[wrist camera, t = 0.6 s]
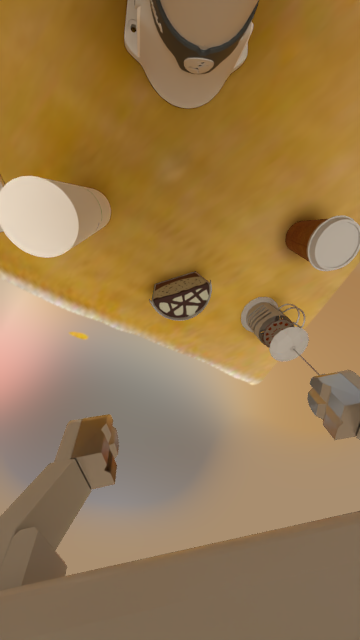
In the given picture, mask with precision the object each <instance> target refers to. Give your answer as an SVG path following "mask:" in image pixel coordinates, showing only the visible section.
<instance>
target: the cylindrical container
mask: <svg viewBox="0 0 360 640" xmlns="http://www.w3.org/2000/svg"><path fill="white" fill-rule="evenodd" d="M110 217H111V208H110V204H109V202H108V200H107V198H106V197H105V196H104V195H103V194H102V193H101V192H99V191H98V190H95V189H92V188H87V187H83V186H78V185H73V184H69V183H64V182H59V181H54V180H50V179H45V178H40V177H34V176H21V177H18V178H15V179H13V180H11V181H9V182H8V183H7V184H6V185H5V186H4V187H3V188H2V189H1V191H0V225H1V227H2V229H3V231H4V232H5V234H6V235H7V237H8V238H9V239H10V240H11V241H12V242H13V243H14V244H15V245H16V246H17V247H19V248H20V249H22V250H23V251H25V252H27V253H29V254H31V255H34V256H38V257H46V258H48V257H56V256H59V255H62V254H63V253H65V252H67V251H68V250H70V249H71V248H73V247H74V246H76V245H77V244H79V243H81V242H82V241H84V240H85V239H87V238H88V237H90V236H91V235H93V234H94V233H96V232H97V231H99V230H100V229H102V228H103V227H105V226H106V225H107V223H108V222H109V220H110Z"/></svg>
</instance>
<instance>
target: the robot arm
mask: <svg viewBox="0 0 360 640" xmlns="http://www.w3.org/2000/svg"><path fill="white" fill-rule="evenodd" d="M258 2H259V0H128V1H127V11H126V22H125V32H124V44H125V47H126V49H127V50H128V52H129V53H130V54H131V55H132V56H133V57H134V58H135V59H136V60H137V61H138V62H139V63H140V64H141V66H142V67H143V69H144V71H145V73H146V75H147V77H148V79H149V81H150V83H151V84H152V86H153V87H154V89H155V90H156V91H157V93H158V94H159V95H160V96H161V97H162V98H163V99H165V100H166V101H167V102H169V103H171V104H172V105H175V106H177V107H181V108H195V107H199V106H202V105H204V104H205V103H207V102H209V101H210V100H211V99H212V98H213V97H214V96H215V95H216V94H217V93H218V92H219V91H220V89H221V88H222V86H223V84H224V83H225V81H226V79H227V78H228V76H229V75H230V74H231V73H232V72H234V71H235V70H236V69H238V68H239V67H240V66H241V65H242V64H243V63H244V61H245V59H246V57H247V54H248V40H249V37H250V35H251V33H252V30H253V23H252V19H253V17H254V14H255V11H256V9H257V6H258ZM132 27H135V28H136V32H132V31H131V28H132ZM310 385H311V386H312V387H313V388H312V389H311V390H310V391H309V392H308V403H309V406H310V408H311V410H312V411H313V413H314V414H315V415H316V416H318V417H319V418H321V419H323V425H324V427H325V428H326V429H327V431H328V432H329V433H330V435H331V436H332V437H333V438H334V440H337V439H343V438H349V437H355V436H357V438H358V439H360V377H359V376H358V375H357V374H356V373H355V372H353V371H351V370H346V371H341V372H336V373H330V374H325V375H320V376H314V377H313V378H312V379H311V381H310ZM112 425H113V419H112V417H111V415H110V414H108V415H102V416H96V417H89V418H84V419H78V420H72V421H70V422H69V423H68V424H67V427H66V429H65V432H64V435H63V438H62V441H61V444H60V446H59V449H58V452H57V455H56V458H55V461H54V463H50V464H49V465H48V466H47V467H46V468H45V469H44V470H43V471H42V472H41V474H39V476H38V477H37V478H36V479H35V480H34V481H33V482H32V483H31V484H30V485H29V486H28V487H27V488H26V490H25V491H24V492H23V493H22V494H21V495H20V496H19V497H18V498H17V499H16V500H15V501H14V502H13V503H12V504H11V505H10V507H9V508H8V509H7V510H6V511H5V512H4V513H3V514H2V515H1V516H0V640H360V511H357V512H353V513H348V514H343V515H339V516H334V517H330V518H325V519H321V520H317V521H312V522H307V523H303V524H298V525H294V526H290V527H285V528H280V529H276V530H271V531H266V532H262V533H257V534H253V535H249V536H244V537H240V538H235V539H230V540H226V541H222V542H217V543H212V544H208V545H203V546H199V547H194V548H190V549H186V550H181V551H176V552H172V553H167V554H163V555H158V556H154V557H149V558H145V559H140V560H135V561H131V562H127V563H122V564H118V565H113V566H108V567H104V568H99V569H95V570H90V571H86V572H81V573H77V574H72V575H68V576H65V574H66V569H67V565H66V564H65V562H64V561H63V560H62V558H61V557H60V556H59V555H58V554H57V552H56V551H55V550H56V548H57V547H58V545H59V543H60V542H61V540H62V538H63V537H64V535H65V534H66V532H67V530H68V529H69V527H70V525H71V524H72V522H73V520H74V519H75V517H76V516H77V514H78V512H79V511H80V509H81V507H82V506H83V504H84V502H85V500H86V499H87V497H88V496H89V494H90V492H91V489H96V488H100V487H104V486H109V485H113V484H115V479H116V469H117V465H116V462H115V458H116V456H117V455H118V450H119V440H118V434H117V430H116V428H114V427H113V426H112Z"/></svg>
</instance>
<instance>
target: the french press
mask: <svg viewBox="0 0 360 640" xmlns="http://www.w3.org/2000/svg"><path fill="white" fill-rule="evenodd" d="M285 305H292V306H294V307H291V308H288V309H286V310H285V311H287V310H289V309H292V308H296V309H297V311H298V320H299V318H300V313H299V310H300V311H301V312H302V313H303V316H304V322H303V325H304V323H305V314H304V312H303V311H302V310H301V309H299V308H297V307H296V306H295V305H293V304H285ZM285 305H282V306H281V307H283V306H285ZM281 307H279V308H278V305H277V303H276V302H275V301H274V300H273V299H271V298H268V297H258V298H256V299H254V300H252V301H250V302H249V303H248V304H247V305H246V306H245V308H244V310H243V312H242V314H241V322H242V325H243V327H244V328H245V329H247V330H248V331H251V332H254V334H255V335H256V336H257V337H258V339H259V340H260V341H261V342H262V343H263V344H264V345H266V346H267V347H269V350H270V353H271V356H272V357H273V358H274V359H275V360H278V361H290V360H292V359H294V358H297V357H298V356H300V357H302V356H301V355H300V354H302V353H303V351H304V350H305V349H306V347H307V344H308V341H309V339H308V334H307V333H306V331H305V330H304V329H302V327H303V325H302V326H301V327H300V326H299V325H298V324H297V323H298V320H297V322H296V323H295V322H291V320H290V319H289V318H288V317H286V316H285V315H284V314H283V312H285V311H283V312H282V311H281V310H280V308H281ZM279 315H280V318H279ZM282 318H283V320H282ZM279 319H281V320H279ZM293 324H295V325H297V326H298V327H294V325H293ZM262 331H264V332H263V333H260V332H262ZM262 334H263V335H262ZM302 359H303V360H304V361H305V362H306V360H305V359H304V358H303V357H302ZM306 363H307V364H308V365H309V366H311V365H310V364H309V363H308V362H306ZM311 368H312V369H313V370H314V371H315V372H316V370H315V369H314V368H313V367H312V366H311ZM316 373H317V372H316ZM317 374H318V375H319V376H320V374H319V373H317ZM322 375H325V374H322Z"/></svg>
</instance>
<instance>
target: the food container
mask: <svg viewBox="0 0 360 640" xmlns="http://www.w3.org/2000/svg"><path fill="white" fill-rule="evenodd" d="M211 292H212V286H211V280H210V283H209V282H208V281H207V280H206V279H204V278H203V277H202V276H201V275H199V274H198V273H197V272H196V271H195V272H191V273H188V274H185V275H182V276H179V277H175V278H172V279H169V280H166V281H163V282H159V283H156V284H155V285H154V291H153V296H152V301H151V300H150V299H149V301H150V303H151V305H152V306H153V307H154V309H155V310H156V311H157V312H158V313H159V314H160V315H162V316H164V317H165V318H168V319H171V320H179V321H180V320H187V319H190V318H193V317H195V316H196V315H198V314H199V313H201V312H202V311H203V310H204V308H205V307H206V306H207V304H208V302H209V300H210V297H211Z"/></svg>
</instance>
